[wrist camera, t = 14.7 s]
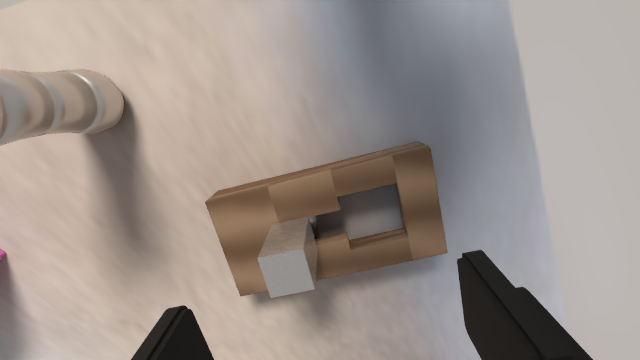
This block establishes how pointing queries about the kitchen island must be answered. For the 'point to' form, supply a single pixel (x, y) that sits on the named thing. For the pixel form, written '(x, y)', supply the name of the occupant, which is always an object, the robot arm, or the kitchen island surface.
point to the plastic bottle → (56, 103)
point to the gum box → (1, 254)
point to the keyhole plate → (322, 197)
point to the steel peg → (290, 257)
